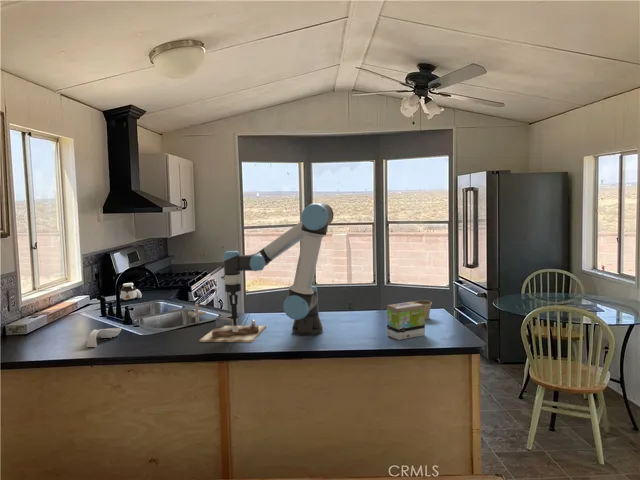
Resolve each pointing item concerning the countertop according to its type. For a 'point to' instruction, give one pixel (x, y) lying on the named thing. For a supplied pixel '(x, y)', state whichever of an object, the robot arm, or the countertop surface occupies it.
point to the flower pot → (427, 307)
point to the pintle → (253, 322)
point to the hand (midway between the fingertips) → (235, 331)
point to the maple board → (233, 336)
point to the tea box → (405, 320)
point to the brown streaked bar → (240, 331)
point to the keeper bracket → (222, 321)
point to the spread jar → (129, 292)
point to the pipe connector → (196, 313)
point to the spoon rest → (102, 335)
